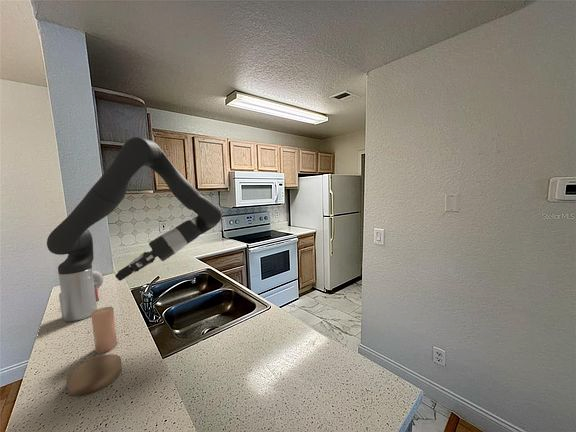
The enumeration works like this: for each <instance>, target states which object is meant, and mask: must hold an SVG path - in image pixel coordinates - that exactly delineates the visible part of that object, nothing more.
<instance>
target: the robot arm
mask: <svg viewBox="0 0 576 432" xmlns="http://www.w3.org/2000/svg"><path fill="white" fill-rule="evenodd" d="M143 167H148V168H150V170H152V171H154V172H155V173H157V175H158V176H159V177H160V178H161V179H162V180H163V181H164V183H165V184H166V186H167V187H168V188H169V190H170V192H171V193H172V195H173V196H174V197H175V198H176V199H177V200H178V201H179V202H180V203H181V204H182V205H183V206H184V207H185V208H187V210H189V211H193V213H195V214H196V216H195V217H193V218H192V219H189V220H188V219H187V220H185V221H183V222H182V223H180V224H178V225H177V226H175V227H174V228H172V229H169V230H167V231H166V232H164V233H162V234H161V235H159V236H157V237H156V238H154V239H152V240H151V241H150V242H148V246H149V248H150V249H151V250H150V251H144V252H142V253H141V254H140V255H139V256H137V257H135V258H134V259H133V260H132V261H131V262H130V263H129V264H128V265H126V266H125V267H123V268H121V269H120V270H118V272H117V273H116V274H115V278H116V279H117V280H118V281H119V282H120V281H123V280H124V279H126V278H127V277H129V276H130V275H133V274H134V273H137V272H139V271H140V270H143V269H144V268H145V267H147V266H149V265H151V264H152V263H154V261H155V260H156V258H158V259H160V261H161V262H164V261H166V260H169V258H170V257H172V256H174V255H176V254H177V253H178V252H179V251H181V250H182V249H184V248H185V247H187V245H189V244H190V243H191V242H193V241H194V240H196V239H197V238H199V237H200V236H201V235H203V234H205V233H207V232H209V231H210V230H211V229H213V228H215V227H216V226H217V225H218V224H219V223H220V222H221V220H222V211H221V210H220V208H219V207H218V206H217V205H216V204H214V203H213V202H212V201H210V199H208V198H207V197H205V196H203V195H202V194H201V192H200V191H198V189H196V187H194V186H193V185H192V183H190V181H188V180H187V179H186V178H185V177H184V176H183V175H182V173H180V172H179V170H178V169H177V168H176V167H175V166H174V164H173V163H172V161H171V160H170V159H169V158H168V156H167V154H165V152H164V151H163V150H162V149H161V147H160V146H159V145H158V144H157V143H156V142H155V141H153V140H150V139H147V138H144V137H140V136H134V137H131V138H130V139H127V140H126V142H125V143H124V144H123V146H122V147H120V150H119V151H118V154H117V155H116V156H115V158H114V159H113V161H112V163H111V164H110V166H109V167H108V168H107V169H106V170H105V172H104V173H103V174H102V175H101V176H100V177H99V178H98V180H97V181H96V183H94V185H93V186H91V188H90V189H89V191H88V192H86V194H85V196H84V197H83V198H82V200H80V202H79V203H78V204H77V205H76V207H74V209H73V210H72V211H71V212H70V213H69V214H68V215H67V217H66V218H65V219H64V220H62V222H60V223H59V224H58V225H57V226H56V227H55V228H54V229H53V230H52V231H51V232H50V234H49V235H48V237H47V240H46V247H47V249H48V251H50V252H49V253H52V254H55V255H59V256H63V255H67V257H66V259H65V260H64V261H63V262H61V263H60V264H59V265H58V267H57V272H58V280H59V288H60V293H59V294H58V297H59V304H60V312H61V319H63V320H64V321H65V322H77V321H81V320H84V319H86V318H89V317H91V313H92V312H93V311H95V310H97V309H98V307H97V302H96V296H95V288H94V280H93V272H92V271H93V261H94V242H93V241H94V240H93V236H92V233H91V231H90V230H89V228H91V227H92V226H93V225H95V224H96V223H98V222H99V221H101V220H103V219H104V218H106V217H107V216H108V215H110V214H111V213H113V212H114V211H115V209H116V208H117V207H118V206H119V205H120V204H121V203H122V202H123V200H124V198H125V197H126V194H127V190H128V188H129V184H130V181H131V179H132V178H133V176H134V175H135V174H136V173H137V172H138V171H139V170H140V169H141V168H143Z"/></svg>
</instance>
